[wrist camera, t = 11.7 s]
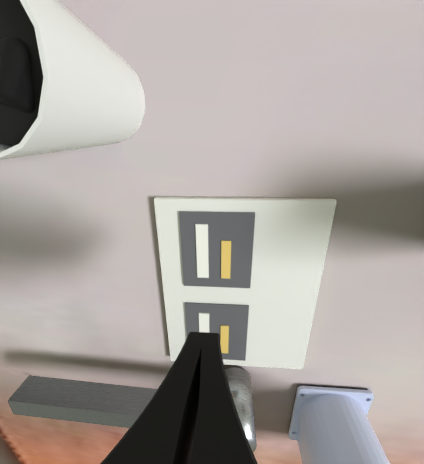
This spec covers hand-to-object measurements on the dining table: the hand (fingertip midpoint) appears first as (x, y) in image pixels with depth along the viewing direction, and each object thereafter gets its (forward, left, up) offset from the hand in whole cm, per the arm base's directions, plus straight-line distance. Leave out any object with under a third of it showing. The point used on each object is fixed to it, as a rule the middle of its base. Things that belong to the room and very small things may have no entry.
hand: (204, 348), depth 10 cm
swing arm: (-15, +8, -10) cm, 20 cm away
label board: (-5, -2, -10) cm, 12 cm away
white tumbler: (+11, +8, -11) cm, 18 cm away
